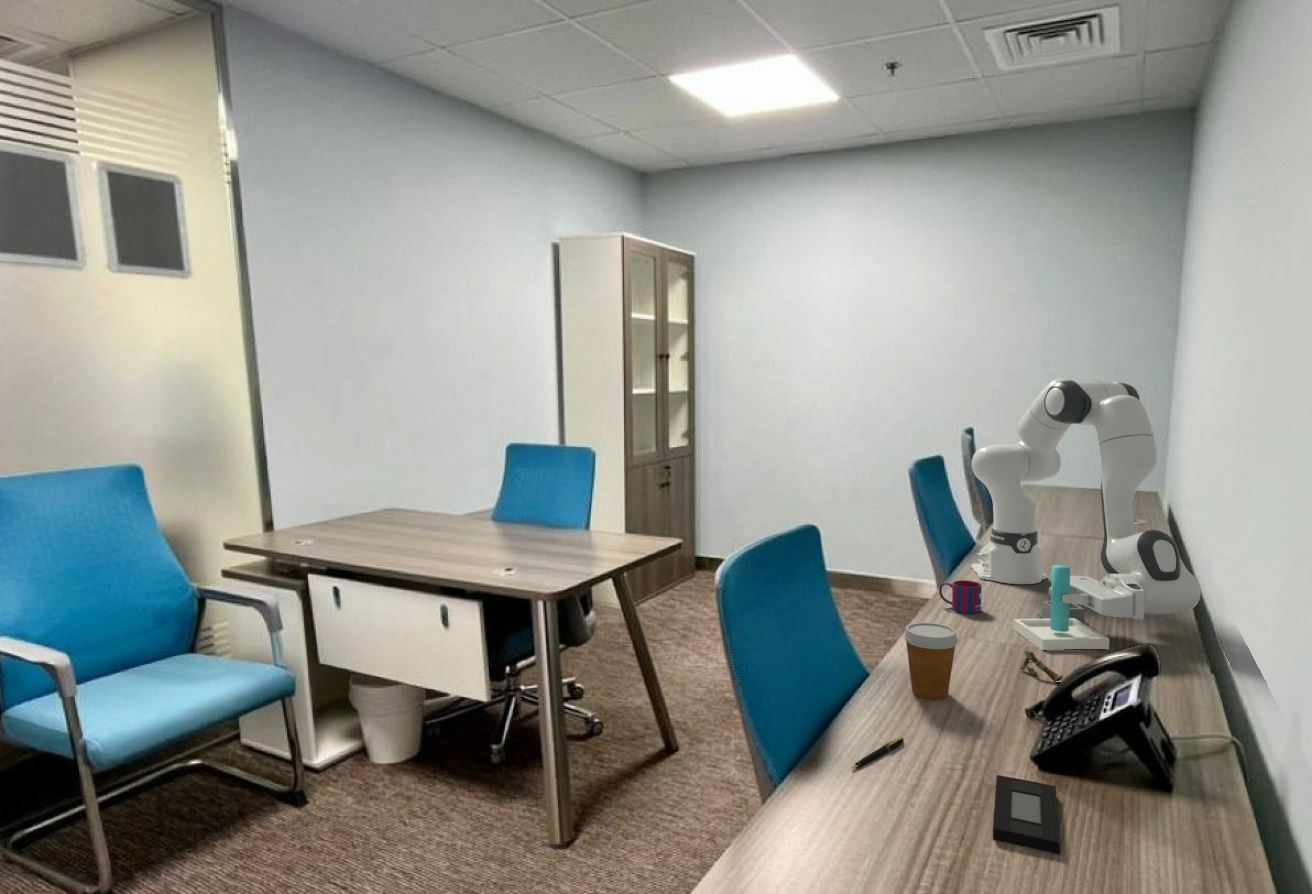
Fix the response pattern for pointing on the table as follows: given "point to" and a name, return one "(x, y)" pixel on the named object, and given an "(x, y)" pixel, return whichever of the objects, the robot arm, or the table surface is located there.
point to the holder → (1074, 612)
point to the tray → (1060, 635)
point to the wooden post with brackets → (1040, 665)
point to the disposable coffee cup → (930, 658)
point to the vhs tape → (1026, 814)
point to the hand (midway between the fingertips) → (1056, 594)
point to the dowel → (1058, 607)
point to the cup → (964, 596)
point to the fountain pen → (879, 752)
